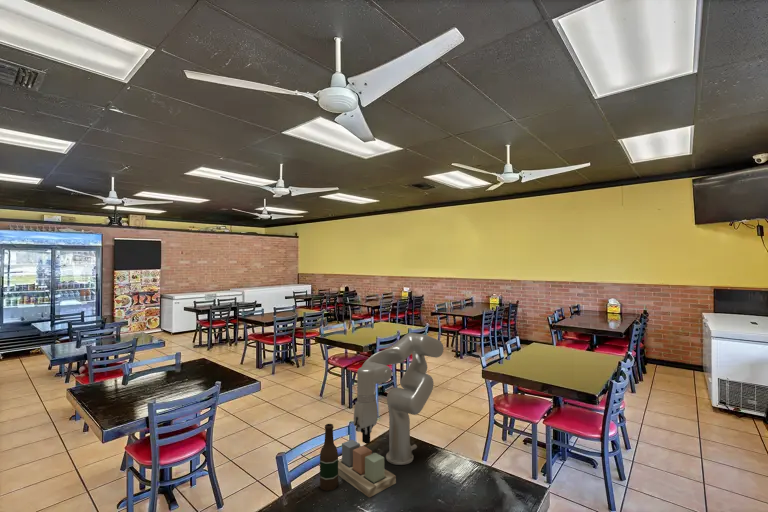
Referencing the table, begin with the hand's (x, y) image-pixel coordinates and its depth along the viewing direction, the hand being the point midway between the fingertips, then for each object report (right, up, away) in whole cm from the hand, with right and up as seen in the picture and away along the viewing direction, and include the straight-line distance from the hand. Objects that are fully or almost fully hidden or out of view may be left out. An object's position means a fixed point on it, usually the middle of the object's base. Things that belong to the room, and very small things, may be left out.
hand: (366, 442), depth 151 cm
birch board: (-2, -15, +2) cm, 15 cm away
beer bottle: (-15, -15, -5) cm, 22 cm away
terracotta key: (-2, -12, +2) cm, 13 cm away
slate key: (-7, -13, +8) cm, 16 cm away
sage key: (+4, -12, -4) cm, 13 cm away
